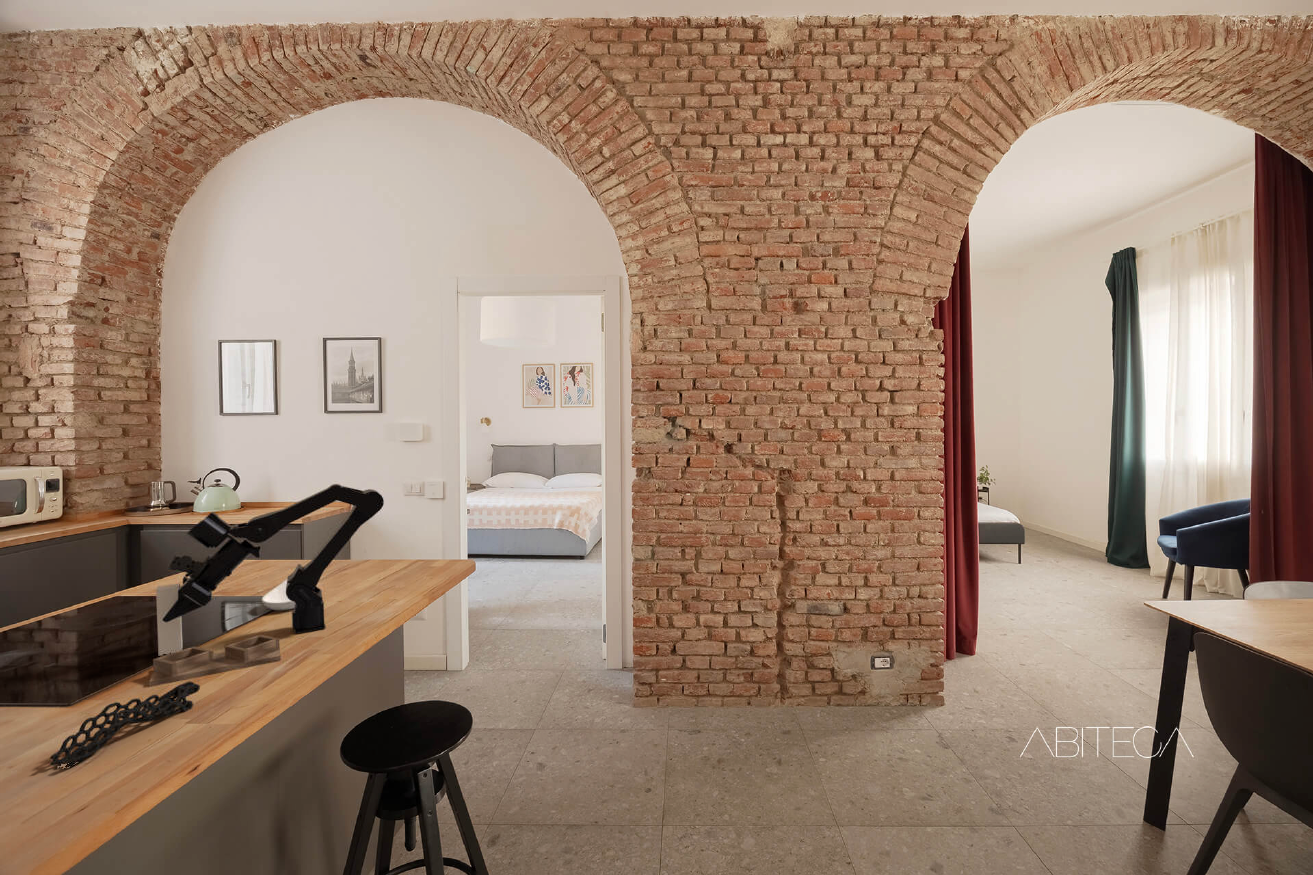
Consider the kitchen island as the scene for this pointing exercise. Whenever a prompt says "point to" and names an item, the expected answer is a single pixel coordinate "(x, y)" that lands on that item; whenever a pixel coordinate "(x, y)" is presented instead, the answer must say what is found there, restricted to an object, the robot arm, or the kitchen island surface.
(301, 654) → the kitchen island surface
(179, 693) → the decorative element
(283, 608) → the spoon rest
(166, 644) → the beige rectangular block
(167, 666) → the double compartment tray
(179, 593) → the robot arm
